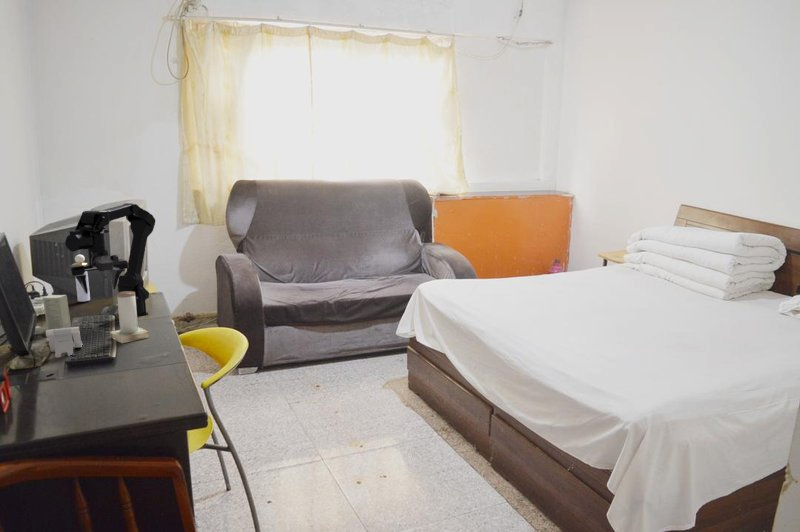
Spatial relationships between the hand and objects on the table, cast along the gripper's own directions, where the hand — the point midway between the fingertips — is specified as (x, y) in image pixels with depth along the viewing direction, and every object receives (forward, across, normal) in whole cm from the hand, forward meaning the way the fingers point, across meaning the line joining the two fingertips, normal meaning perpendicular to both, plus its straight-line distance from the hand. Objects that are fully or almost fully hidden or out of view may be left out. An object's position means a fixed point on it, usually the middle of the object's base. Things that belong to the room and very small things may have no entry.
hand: (100, 291), depth 207 cm
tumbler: (+11, +1, -19) cm, 22 cm away
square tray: (+13, +1, -19) cm, 23 cm away
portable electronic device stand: (+13, -19, -20) cm, 31 cm away
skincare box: (+13, -12, +8) cm, 20 cm away
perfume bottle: (+13, +9, +44) cm, 47 cm away
